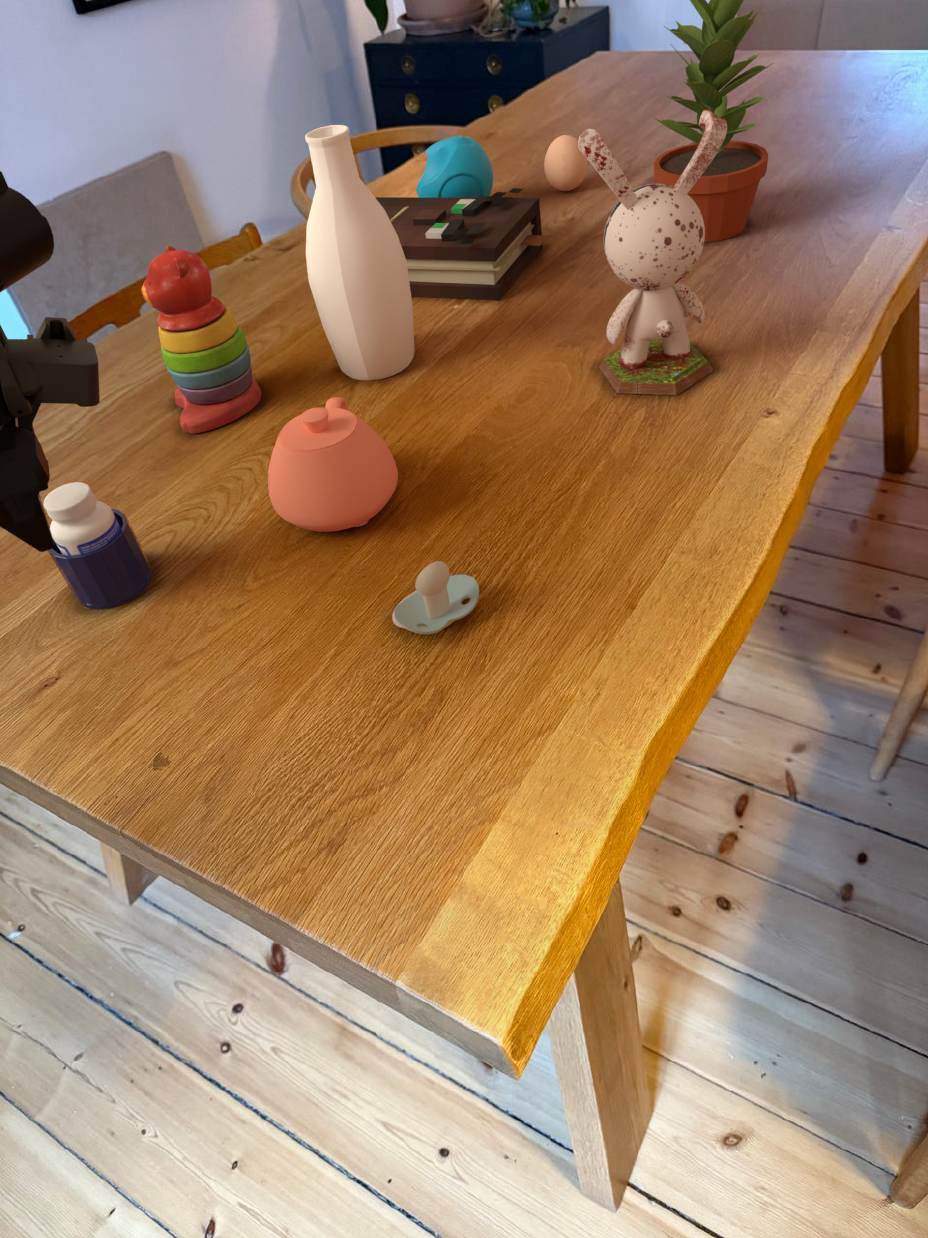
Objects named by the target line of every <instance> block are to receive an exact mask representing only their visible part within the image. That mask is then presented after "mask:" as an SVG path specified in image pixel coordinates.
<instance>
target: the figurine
mask: <svg viewBox="0 0 928 1238" xmlns="http://www.w3.org/2000/svg"><path fill="white" fill-rule="evenodd" d="M699 126H700V127H701V128H702V129H704V130H705V132H704V134H702V135H703V137H702V139H701V142H700V144H699V146H698V148H697V150H696V152H695V153H694V155H693V157H692V159H691V160H690V162H689V164H688V165H687V167H686V169H685V170H684V172H683V173H682V175H681V176H680V178H679V180H678V181H677V183H676V185H675V187H673V186H669V185H664V184H655V183H648V184H644V185H641V186H638V187H636V188H634V189H633V187H632V185H631V184H630V182H629V180H628V178H627V176H626V175H625V173H624V171H623V169H622V168H621V166H620V164H619V162H618V161H617V159H616V157H615V156H614V154H613V153H612V151H611V150H610V148H609V147H608V145H607V144H606V141H604V139H603V137H602V136H601V134H600V133H599V132H598V130H596V129H593V128H587V129H585V130H584V131H583V132H582V133H580V135H579V136H578V139H577V140H578V146H579V150H580V151H581V153H582V154H583V155H584V156H585V157H586V158H587V162H588V163H589V164H590V165H591V166H592V167H593V168H594V170H595V171H596V172H597V173H598V175H599V176H600V178H602V180H603V182H605V184H606V185H607V186H608V187H609V189H610V190H611V191H612V193H613V194H614V196H616V198H617V199H618V200H619V201H618V202H617V203H616V204H615V206H614V207H613V209H612V210H611V212H610V214H609V216H608V218H607V221H606V224H605V227H604V230H603V231H604V232H603V248H604V249H603V250H604V253H605V257H606V260H607V262H608V265H609V267H610V269H611V270H612V272H613V273H614V274H615V275H616V277H617V278H618V279H619V280H620V281H622V282H623V283H624V284H626V285H627V286H629V287H630V288H633V289H632V290H630V291H629V292H628V293H627V294H626V295H625V296H624V297H623V299H622V300H621V301H620V302H619V304H618V305H617V307H616V308H615V309H614V310H613V312H612V315H611V316H610V318H609V320H608V322H607V326H606V330H605V331H606V333H605V335H606V338H607V341H608V342H609V343H611V344H612V345H617V340H618V339H619V338H620V336H621V335H622V334H623V333H624V337H623V342H622V347H621V348H620V349H618V350H617V351H615V352H613V353H612V354H610V355H608V356H607V357H605V358H604V359H603V360H602V361H601V363H600V364H599V366H598V369H599V370H600V371H601V372H602V374H603V375H604V377H605V378H606V380H607V381H608V383H610V386H612V388H613V389H614V391H615V392H616V394H621V395H622V394H625V395H647V396H648V395H650V396H677V397H678V395H680V394H681V393H683V392H684V391H686V390H688V389H689V388H691V387H692V386H693V385H695V384H697V382H699V381H701V380H702V379H703V378H705V377H707V376H708V375H710V374H711V373H713V372H714V369H713V367H712V365H711V364H710V362H709V361H708V360H707V358H706V357H704V355H703V354H702V353H701V352H700V351H699V350H698V349H697V348H696V347H695V346H694V344H693V343H691V341H690V337H689V332H688V327H687V324H686V320H685V319H686V318H690V316H693V318H694V320H695V321H697V323H698V324H699V325H703V323H704V321H705V317H706V313H705V311H706V310H705V307H704V305H703V301H701V299H700V297H699V296H698V295H697V294H696V293H695V292H694V290H692V289H691V288H690V287H689V286H688V285H686V284H685V283H684V282H682V281H683V280H684V278H686V277H687V276H688V275H689V274H690V273H691V272H692V271H693V270H694V268H695V266H696V265H697V263H698V261H699V260H700V257H701V255H702V252H703V249H704V244H705V242H704V239H705V228H704V221H703V218H702V215H701V212H700V210H699V208H698V206H697V205H696V203H695V202H694V201H693V199H692V198H691V197H690V196H689V195H687V193H688V192H689V191H690V189H691V188H692V187H693V186H694V184H695V183H696V182H697V180H698V179H699V178H700V177H701V175H702V174H703V173H704V171H705V170H706V169H707V167H708V166H709V165H710V163H711V162H712V160H713V159H714V157H715V156H716V154H717V152H718V151H719V149H720V147H721V145H722V143H723V141H724V139H725V136H726V133H727V123H726V120H725V119H723V118H721V117H719V116H717V115H716V114H714V113H713V112H711V111H710V110H704V111H703V112H702V114H701V117H700V120H699ZM624 331H625V332H624Z"/></svg>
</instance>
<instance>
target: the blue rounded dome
mask: <svg viewBox="0 0 928 1238" xmlns="http://www.w3.org/2000/svg"><path fill="white" fill-rule="evenodd" d="M425 154H426V157H427V159H426V163H425V167H424V171H423V174H422V175H421V177H420V179H419V181H418V182H417V185H416V188H415V192H416V195H417V197H449V198H478V197H479V196H491V193H492V191H493V185H494V172H493V166H492V163H491V160H490V158H489V156H488V154H487V152H486V151H485V149H484V147H482V146H481V144H480V143H478V141H476V140H475V139H474V138H472V137H471V136H468V135H466V136H465V137H464V136H463V135H461V134H459V135H454V136H449V137H446V138H443V139H441V140H438V141H437V142H435V143H433V144H432V145H430V146H429V147H427V149H426V150H425Z"/></svg>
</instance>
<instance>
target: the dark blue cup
mask: <svg viewBox="0 0 928 1238" xmlns="http://www.w3.org/2000/svg"><path fill="white" fill-rule="evenodd" d="M111 510H112V512H113V513H114V515H115V517H116V519H117V521H118V523H119V525H120V527H121V530H120V532H119V534H118V535H117V536H116V537H115V538H114V539H112V540H111V541H110V542H109V543H107V544H106V545H104V546H102V547H100V548H99V549H97V550H94V551H91V552H88V553H85V554H81V555H72V556H68V555H63V554H62V553H61V551H60V549H59V548H58V546H57V544H56V543H55V541H54V539H53V541H54V545H55V547H54V548H53V549H50V550H47V552H48V554H49V555H50V557H51V559H52V560H53V562H54V564H55V565H56V567H57V569H58V571H59V572H60V574H61V576H62V577H63V579H64V581H65V582H66V584H67V586H68V588H69V589H70V591H71V593H72V595H73V597H75V599H76V600H77V601H78V603H79V604H80V605H81V606H83V607H85V608H87V609H91V610H105V609H111V608H115V607H119V606H121V605H124V604H125V603H127V602H129V601H131V600H133V599H135V598H136V597H138V596H139V595H140V594H141V593H142V592H143V591H144V590H145V589H147V587H148V586H149V584H150V583H151V580H152V577H153V569H152V567H151V564H150V561H149V560H148V557H147V556H146V555H147V554H146V553H145V551H144V549H143V547H142V545H141V543H140V541H139V539H138V537H137V535H136V533H135V531H134V529H133V527H132V525H131V523H130V521H129V518H128V517H127V515H126V514H125V513H123V512H122V511H120V510H119V509H115V508H111Z"/></svg>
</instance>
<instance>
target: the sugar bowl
mask: <svg viewBox="0 0 928 1238" xmlns="http://www.w3.org/2000/svg"><path fill="white" fill-rule="evenodd" d="M267 470H268V472H267V487H268V496H269V499H270V502H271V505H272V508H273V510H274V511H275V512H276V513H277V514H278V516H279V517H280V518H282V520H285V521H286V522H288V523H290V524H292V525H294V526H296V527H299V528H301V529H304V530H307V531H311V532H317V533H321V532H322V533H325V532H326V533H328V532H337V531H343V530H348V529H350V528H354V527H355V528H358V527H363V526H364V525H366V524H368V522H369V521H370V519H372V518H373V517H375V516H376V515H377V514H379V513H380V512H381V511H382V510H383V508H384V507H385V506H386V504H388V502H389V501H390V499H391V497H392V496H393V494H394V493H395V491H396V488H397V484H398V480H399V471H398V467H397V463H396V460H395V458H394V455H393V454H392V452H391V450H390V449H389V446H388V445H387V444H386V442H385V441H384V439H383V438H382V437H381V436H380V435H379V434H378V433H377V432H376V430H374V429H373V427H371V426H370V425H369V424H367V422H365V420H363V419H362V418H361V417H359V416H358V415H357V414H356V413H353V412H352V411H350V410H349V406H348V404H347V401H346V399H344V398H343V397H339V396H337V397H331V398H329V399H328V400H327V401H326V402H325V407H321V406H320V407H313V408H309V409H307V410H305V411H304V412H302V413H301V414H299V415H296V416H295V417H294V418H291V419H290V420H289V421H288V422H287V423H285V424H284V426H283V427H282V429H280V432H279V434H278V436H277V437H276V441H275V444H274V446H273V450H272V452H271V455H270V460H269V464H268V469H267Z"/></svg>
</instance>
